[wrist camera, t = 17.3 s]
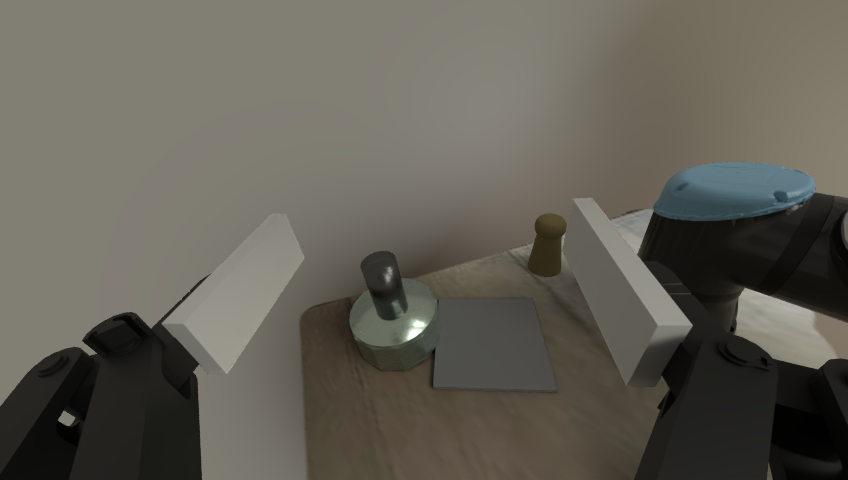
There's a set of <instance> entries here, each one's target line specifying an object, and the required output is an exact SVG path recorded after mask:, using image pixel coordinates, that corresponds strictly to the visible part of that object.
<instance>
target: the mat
mask: <svg viewBox="0 0 848 480" xmlns="http://www.w3.org/2000/svg"><path fill="white" fill-rule="evenodd" d="M438 309H439V315H440V320H441V331H440V342H439V343H438V344H437V346H436V351H435V365H434V380H433V389H451V390H481V391H511V392H541V393H557V392H558V389H557V385H556V382H555V378H554V374H553V371H552V367H551V364H550V360H549V356H548V353H547V349H546V345H545V342H544V338H543V335H542V331H541V327H540V324H539V320H538V317H537V313H536V309H535V306H534V302H533V299H532V298H495V299H439V307H438Z"/></svg>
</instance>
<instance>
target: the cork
mask: <svg viewBox="0 0 848 480" xmlns="http://www.w3.org/2000/svg"><path fill="white" fill-rule="evenodd" d="M566 227H567V226H566V222H565V220H564V218H563V217H561V216H559V215H556V214H544V215H541V216H540V217H539V218H538V219H537V220H536V222H535V231H536V233H537V235H536V238H535V242H534V245H533V248H532V252H531V255H530V258H529V262H528V268H529V269H530V271H531V272H533V273H534V274H537V275H539V276H544V277H551V276H555V275H557V274H558V273H559V272H560V270H561V237H562V236H563V235H564V233H565V232H566Z"/></svg>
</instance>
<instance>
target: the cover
mask: <svg viewBox="0 0 848 480" xmlns="http://www.w3.org/2000/svg"><path fill="white" fill-rule="evenodd" d="M361 270H362V272H363V275H364V278H365V281H366V284H367V286H368V290H366V291H365V292H364V293H363V294H362V295H361V296H360V297H359V298H358V299H357V300H356V302H355V303H354V305H353V307H352V309H351V312H350V318H349V321H350V327H351V329H352V332H353V335H354V338H355V340H356V343H357V345H358V347H359V349H360V351H361V354H362V356H363V358H364V360H365V361H367V362H369V363H370V364H372V365H373V366H375V367H377V368H378V369H380V370H407V369H409V368H411V367H413V366H414V365H416V364H418V363H420V362H422V361H424V360H426V359H427V358H428V357H429V356H430V354H431V353H432V351H433V350H434V349H435V347H436V346H437V344H438V343H439V342H440V331H441V320H440V315H439V309H438V304H437V301H436V299H435V297H434V294H433V293H432V291H431V290H430V289H429V287H427V286H426V285H425V284H423V283H421V282H419V281H417V280H413V279H407V278H401V277H400V273H399V269H398V265H397V261H396V257H395V255H394V254H393V253H391V252H387V251H380V252H375V253H373V254H370V255H369V256H367V257H366V258H365V259H364V260H363V261H362V263H361Z"/></svg>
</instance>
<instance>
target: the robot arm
mask: <svg viewBox="0 0 848 480" xmlns="http://www.w3.org/2000/svg"><path fill="white" fill-rule="evenodd" d="M815 190H816V188H815V182H814V180H813V178H811V176H809V175H807V174H806V173H803V172H801V171H798V170H790V169H786V168H785V167H783V166H777V165H770V164H762V163H748V162H726V163H712V164H705V165H699V166H694V167H690V168H687V169H684V170H682V171H680V172H678V173H676V174H675V175H673V176H672V177H671V178H670V179H669V180H668V181H667V182H666V184H665V186H664V188H663V190H662V193H661V195H660V197H659V199H658V200H657V201H656V203H655V204H654V212H653V214H652V217H651V220H650V222H649V225H648V228H647V230H646V233H645V236H644V239H643V241H642V244H641V246H640V249H639V252H638V254H636V253H635V252H634V250H633V249H632V248H631V247H630V245H629V244H628V243H627V242H626V240H625V239H624V238H623V236H622V235H621V234H620V233H619V231H618V230H617V229H616V228H615V226H614V225H613V224H612V223H611V221H610V220H609V219H608V218H607V216H606V215H605V214H604V212H603V211H602V210H601V209H600V207H599V206H598V205H597V204H596V202H595V201H594V200H593V199H592V198H578V199H573V200H572V205H571V210H570V215H569V220H568V225H567V230H566V235H565V240H564V245H563V250H562V251H563V253H564V255H565V257H566V259H567V261H568V263H569V265H570V268H571V270H572V272H573V274H574V276H575V278H576V280H577V282H578V285H579V287H580V289H581V291H582V293H583V295H584V297H585V299H586V302H587V304H588V306H589V308H590V310H591V312H592V314H593V316H594V319H595V321H596V323H597V325H598V327H599V329H600V331H601V333H602V335H603V338H604V340H605V342H606V344H607V346H608V348H609V350H610V352H611V355H612V357H613V359H614V361H615V363H616V365H617V367H618V369H619V372H620V374H621V376H622V378H623V380H624V382H625V384H626V386H634V387H655V386H656V384H657V383H658V381H659V380H660V378H661V376H663V378H664V380H665V381H666V383H667V385H668V386H669V388H670V389H669V391H668V392H667V394H666V395H665V397H664V398H663V400H662V401H661V403H660V404H659V406H658V407H657V408H658V409H660V412H659V415H658V417H657V420H656V423H655V425H654V428H653V431H652V433H651V436H650V439H649V441H648V444H647V447H646V449H645V452H644V454H643V457H642V460H641V462H640V465H639V468H638V470H637V473H636V476H635V478H634V480H767V472H768V463H769V465H770V469H771V473H772V477H773V480H848V360H847V359H830V360H828V361H827V362H826V363H825V364H824V365H823V366H821V367H820V368H819V369H813V368H809V367H805V366H801V365H797V364H792V363H788V362H784V361H780V360H776V359H772V357H771V356H770V355H769V354H768V353H767V352H766V351H764V350H763V349H762V348H760V347H759V346H758V345H756V344H754V343H752V342H750V341H749V340H747V339H745V338H743V337H739V336H736V335H734V334H735V332H736V325H737V323H736V317H737V311H738V298H739V296H740V294H741V293H742V291H743V290H744V288H748V289H750V290H754V291H756V292H759V293H762V294H765V295H768V296H771V297H774V298H777V299H780V300H783V301H786V302H789V303H791V304H794V305H797V306H800V307H803V308H806V309H809V310H811V311H814V312H817V313H820V314H823V315H826V316H829V317H832V318H834V319H838V320H840V321H843V322H846V323H848V198H844V197H839V196H832V195H826V194H820V193H815ZM303 259H304V255H303V253H302V251H301V248H300V246H299V243H298V241H297V239H296V237H295V234H294V232H293V229H292V227H291V225H290V223H289V220H288V218H287V215H286V214H285V213H282V214H271V215H270V216H269V217H268V218H267V219H266V220H265V221H264V222H263V223H262V224H261V225H260V226H259V227H258V228H257V229H256V230H255V231H254V232H253V233H252V234H251V235H250V236H249V237H248V238H247V239H246V240H245V241H244V242H243V243H242V244H241V245H240V246H239V247H238V248H237V249H236V250H235V251H234V252H233V253H232V254H231V255H230V256H229V257H228V258H227V259H226V260H225V261H224V262H223V263H222V264H221V265H220V266H219V267H218V268H217V269H216V270H215V271H214V272H213V273H211V274H209V275H208V276H207V277H205V278H203V279H202V280H200V281H199V282H198V283H197V284H196V285H195V286H194V287H193V288H192V289H191V290H190V292H188V293H187V294H186V295H185V296H184V297H183V298H182V300H180V301H179V302H178V303H177V304H176V305H175V306H174V307H173V308H172V309H171V310H170V311H169V312H168V313H167V314H166V315H165V316H164V317H163V318H162V319H161V320H160V321H159V322H158V323H157V324H156V325H154V326H153V327H152V329H150V328H149V326H147V325H146V323H145V322H144V321H143V320H142V319H141V318H140V317H139V316H138V315H137V314H135V313H133V312H129V313H128V312H127V313H122V314H119V315H116V316H113V317H111V318H109V319H107V320H105V321H103V322H101V323H100V324H99V325H97V326H95V327H94V328H93V329H92V330H91V331H90V332H88V333H87V334H86V336H85V337H84V339H83V340H82V341H83V342H84V343H85V344H86V345H88V346H89V347H90V348H91V349H93V350H94V351H95V352H96V353H97V354H95V355H91V356H89V355H88V354H87V353H86V352H84V351H83V350H82V349H81V348H78V347H72V348H67V349H64V350H61V351H59V352H56V353H53V354H51V355H50V356H48V357H46V358H44V359H43V360H42V361H41V362H40V363H38V364H37V365H35V366H34V367H33V368H32V369H31V370H30V371H29V372H28V373H27V374H26V375H25V377H24V378H23V379H22V380H21V381H20V383H19V384H18V385H17V386H16V388H15V389H14V390H13V391H12V393H11V394H10V395H9V396H8V398H7V399H6V400H5V401H4V403H3V404H2V405H1V406H0V480H202V470H201V448H200V426H199V404H198V382H197V377H196V375H195V374H194V373H193V371H194V370H195V369H196V367H197V366H198V365H200V366H201V367H202V368H203V369H204V370H205V371H206V372H207V374H224V375H227V374H228V372H229V371H230V369H231V368H232V366H233V365H234V363H235V362H236V360H237V359H238V357H239V356H240V354H241V353H242V351H243V350H244V348H245V347H246V345H247V344H248V342H249V341H250V339H251V338H252V336H253V335H254V333H255V332H256V330H257V329H258V327H259V326H260V324H261V323H262V321H263V320H264V318H265V316H266V315H267V314H268V312H269V311H270V309H271V308H272V306H273V305H274V303H275V302H276V300H277V299H278V297H279V296H280V294H281V293H282V291H283V290H284V288H285V287H286V285H287V284H288V282H289V281H290V279H291V278H292V276H293V275H294V273H295V272H296V270H297V269H298V267H299V266H300V264H301V263H302V261H303ZM63 411H66V412H67V413H69V414H71V415H72V416H74V417H75V420H74V422H73V423H72V424H71V425H70V426H66V425H64V424H62V423H61V422H59V421H58V419H59V417H60V416H61V414H62V412H63Z"/></svg>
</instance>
